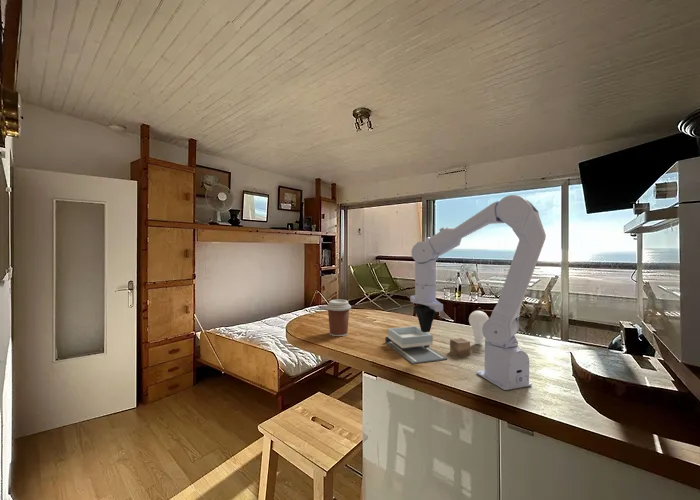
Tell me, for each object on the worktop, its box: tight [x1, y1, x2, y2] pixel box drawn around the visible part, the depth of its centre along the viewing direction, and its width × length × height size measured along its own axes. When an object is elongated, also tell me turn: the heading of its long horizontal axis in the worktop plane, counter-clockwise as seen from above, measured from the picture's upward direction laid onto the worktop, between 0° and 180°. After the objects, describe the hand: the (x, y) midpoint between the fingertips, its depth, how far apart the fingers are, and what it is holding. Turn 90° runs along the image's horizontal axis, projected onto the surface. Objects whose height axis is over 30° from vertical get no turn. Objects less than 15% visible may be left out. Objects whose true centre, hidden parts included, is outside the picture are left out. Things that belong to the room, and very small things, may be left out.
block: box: [449, 337, 471, 357], centre depth 90 cm, size 4×4×4 cm
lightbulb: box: [468, 310, 490, 345], centre depth 98 cm, size 6×6×11 cm
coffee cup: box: [325, 299, 352, 337], centre depth 109 cm, size 9×9×12 cm
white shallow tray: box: [387, 325, 434, 351], centre depth 96 cm, size 10×10×4 cm
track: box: [384, 336, 448, 365], centre depth 93 cm, size 18×11×2 cm, turn 17°
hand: (425, 331), depth 86 cm, fingers closed
